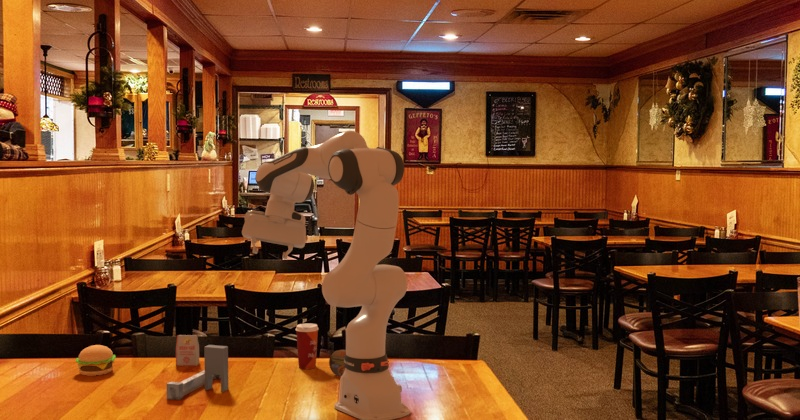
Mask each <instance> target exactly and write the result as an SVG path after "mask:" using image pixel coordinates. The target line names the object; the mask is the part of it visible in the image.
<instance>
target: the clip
mask: <svg viewBox="0 0 800 420" xmlns="http://www.w3.org/2000/svg"><path fill="white" fill-rule="evenodd" d="M203 349H204V354H203V355H204V358H203V359H204V370H205V385H204V390H205V391H209V390H211V389H213V381H212V374H216V375H221V378H220V392H223V393H225V392H226V391H228V390H229V346H227V345H215V344H208V345H206V346H204V347H203Z"/></svg>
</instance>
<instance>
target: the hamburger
mask: <svg viewBox="0 0 800 420" xmlns="http://www.w3.org/2000/svg"><path fill="white" fill-rule="evenodd" d="M113 353H114V352H113V351H112V350H111V348H109V347H108V346H106V345H101V344H95V345H93V344H92V345H89V346H88V347H85V348H84V349H82V350H81V351H80V353H79V354H78V357H76V358H75V362H76V363H77V369H78V372H79V374H80V375H81V376H82V375H83V376H85V375H86V376H87V377H97V376H96V375H99V376H103V374H104V375H106V374H107V375H108V374H109V373H111V372H112V371H113V369H114V366H113V363H115V359H116V358H117V357H116V354H113Z"/></svg>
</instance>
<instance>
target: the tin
mask: <svg viewBox="0 0 800 420" xmlns="http://www.w3.org/2000/svg"><path fill="white" fill-rule="evenodd" d="M345 353H346V349H338V350H334V351H333V352H332V353H331V354H330V356H329V359H328V363H329V364H328V365H329V368H330V371H331V372H332V373H333V374H334V375H335V376H337V377H339V378H341V376H342V375H343V373H344V371H345V367H344V355H345Z"/></svg>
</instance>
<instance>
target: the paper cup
mask: <svg viewBox="0 0 800 420" xmlns="http://www.w3.org/2000/svg"><path fill="white" fill-rule="evenodd" d="M319 330H320V329H319V327H318V324H317V323H305V322H304V323H299V324H297V325H296V328H295V331H296V343H297V344H296V346H297V361H298V368H299V369H301V370H312V369H315V368H316V367H317V351H318V348H317V347H318V334H319V333H318V332H319Z"/></svg>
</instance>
